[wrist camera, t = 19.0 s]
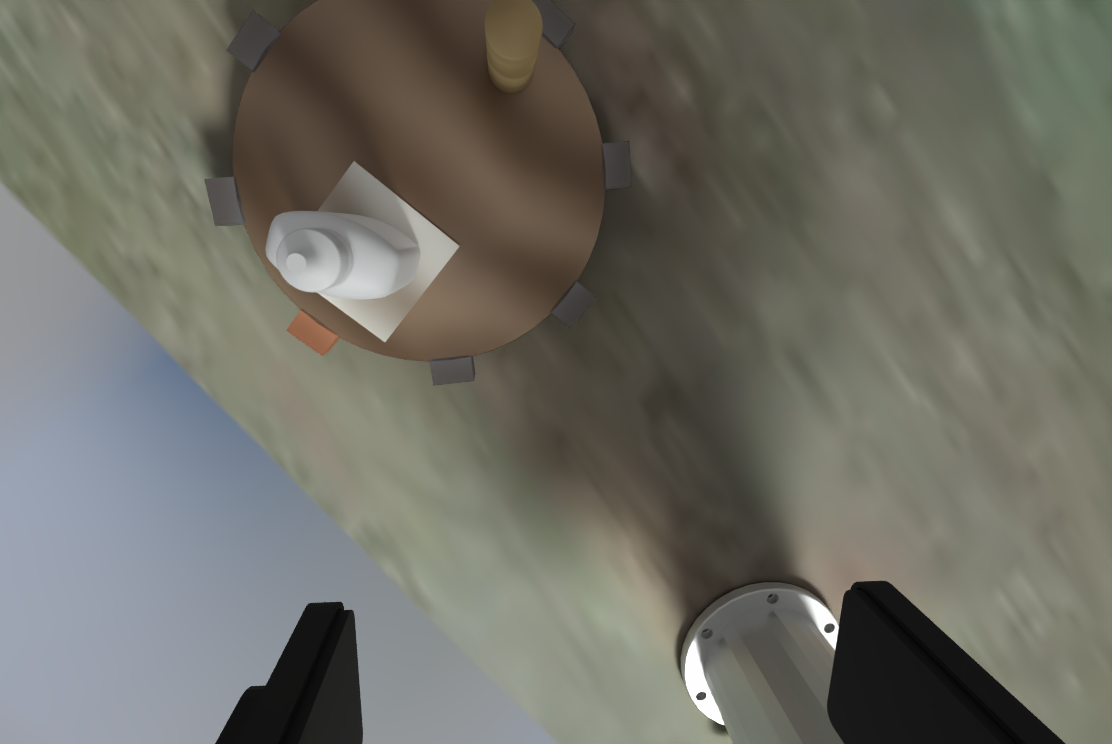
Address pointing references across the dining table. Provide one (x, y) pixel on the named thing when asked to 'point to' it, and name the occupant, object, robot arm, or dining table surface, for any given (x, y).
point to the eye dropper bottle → (341, 254)
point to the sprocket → (427, 165)
